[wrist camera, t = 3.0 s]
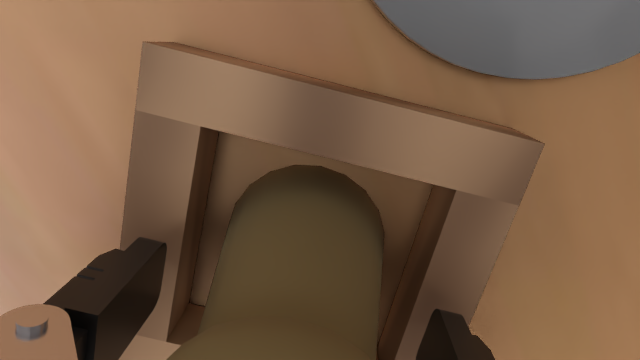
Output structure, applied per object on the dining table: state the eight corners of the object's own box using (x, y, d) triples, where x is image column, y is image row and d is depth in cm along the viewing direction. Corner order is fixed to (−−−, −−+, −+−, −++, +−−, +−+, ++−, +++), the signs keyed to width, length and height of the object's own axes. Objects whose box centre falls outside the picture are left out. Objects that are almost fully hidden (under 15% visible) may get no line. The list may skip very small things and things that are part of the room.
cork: (365, 320, 17) (403, 736, 7) (218, 291, 17) (33, 669, 7) (402, 182, 16) (530, 462, 5) (239, 149, 15) (29, 367, 5)
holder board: (513, 128, 15) (544, 143, 13) (409, 395, 18) (419, 445, 16) (174, 42, 14) (142, 41, 12) (135, 331, 18) (106, 373, 16)
